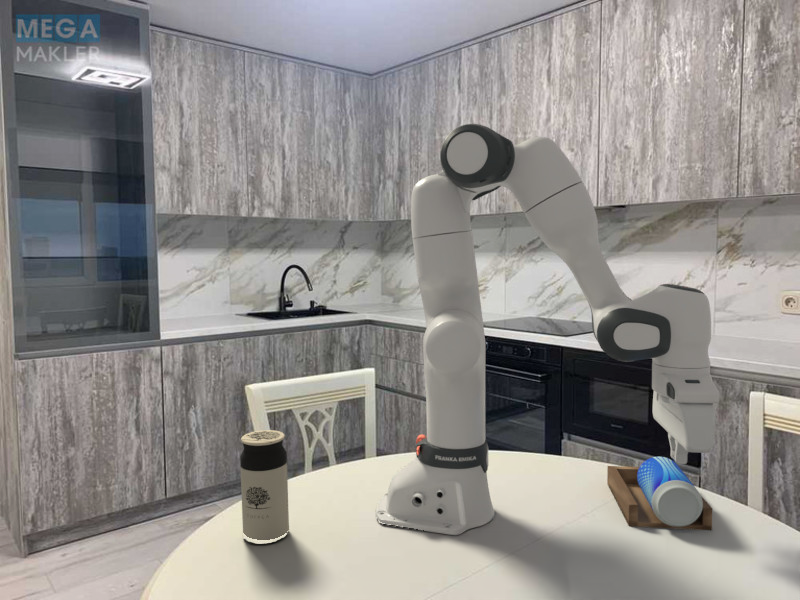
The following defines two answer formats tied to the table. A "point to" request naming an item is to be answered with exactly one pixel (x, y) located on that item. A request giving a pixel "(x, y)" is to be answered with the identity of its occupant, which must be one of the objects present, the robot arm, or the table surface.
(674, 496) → the beer can
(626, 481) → the open box
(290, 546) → the table surface
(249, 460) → the travel mug
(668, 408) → the robot arm
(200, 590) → the table surface
